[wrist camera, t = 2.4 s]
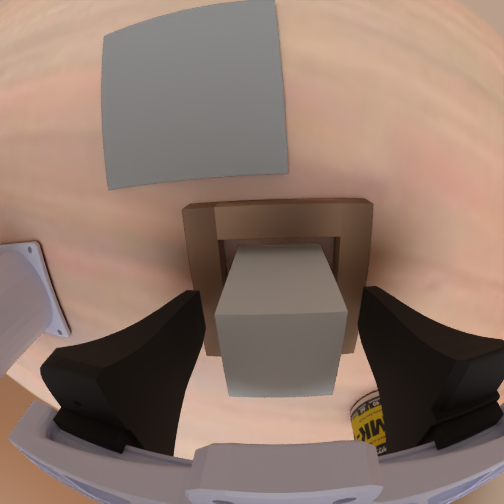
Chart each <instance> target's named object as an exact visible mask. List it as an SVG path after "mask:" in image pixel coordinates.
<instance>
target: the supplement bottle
mask: <svg viewBox="0 0 504 504" xmlns="http://www.w3.org/2000/svg"><path fill="white" fill-rule="evenodd" d="M350 417H351V423H352V429H353V435H354V440H361V441H363V442H366V443H368V444H371V445H374V446H376V450H377V455H378V456H382V455H386V438H385V428H384V420H383V413H382V407H381V402H380V397H379V392H378V391H377V392H374V393H372V394H369V395H367V396H366V397H364V398H362V399H361V400H360V401H359V402H358V403H357V404H356V405H355V406H354V407H353V408H352V410H351V413H350Z"/></svg>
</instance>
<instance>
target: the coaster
mask: <svg viewBox="0 0 504 504" xmlns="http://www.w3.org/2000/svg"><path fill="white" fill-rule="evenodd" d="M101 108H102V132H103V146H104V158H105V167H106V176H107V184H108V190H114V189H120V188H127V187H134V186H141V185H148V184H156V183H164V182H172V181H182V180H192V179H202V178H214V177H227V176H243V175H263V174H288V158H287V138H286V120H285V105H284V91H283V78H282V66H281V55H280V45H279V35H278V26H277V17H276V8H275V0H247V1H236V2H228V3H220V4H214V5H208V6H202V7H197V8H192V9H187V10H183V11H178V12H174V13H170V14H166V15H163V16H159V17H156V18H152V19H149V20H146V21H143V22H140V23H137V24H134V25H131V26H128V27H125V28H123V29H120V30H118V31H115V32H113V33H110V34H108V35H105V36H104V41H103V54H102V77H101Z"/></svg>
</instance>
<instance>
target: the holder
mask: <svg viewBox="0 0 504 504" xmlns="http://www.w3.org/2000/svg"><path fill="white" fill-rule="evenodd" d="M182 215H183V222H184V230H185V237H186V244H187V251H188V258H189V264H190V270H191V276H192V282H193V288H194V291H200V296H201V302H202V308H203V313H204V319H205V324H206V331H205V336H204V340H203V341H204V345H205V350H206V355H207V356H221V350H220V345H219V339H218V333H217V327H216V320H215V311H216V309H217V306H218V303H219V300H220V297H221V294H222V291H223V289H224V286H225V283H226V280H227V273H226V264H225V254H224V244H223V240H231V239H262V238H298V237H335V240H334V260H333V276H334V278H335V281H336V283H337V285H338V288H339V290H340V293H341V295H342V298H343V300H344V303H345V305H346V308H347V310H348V314H347V321H346V327H345V333H344V339H343V345H342V351H341V354H348V353H354V350H355V345H356V340H357V335H358V326H357V324H358V318H359V312H360V306H361V299H362V293H363V287H366V280H367V273H368V264H369V255H370V245H371V233H372V218H373V203H371V202H370V201H368V200H366V199H346V198H325V199H273V200H248V201H228V202H212V203H197V204H189V205H188V206H186V207H185V208H183V209H182Z"/></svg>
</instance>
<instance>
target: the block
mask: <svg viewBox="0 0 504 504" xmlns="http://www.w3.org/2000/svg"><path fill="white" fill-rule="evenodd" d="M347 314H348V310H347V308H346V305H345V303H344V300H343V298H342V295H341V293H340V290H339V288H338V285H337V283H336V281H335V278H334V276H333V273H332V271H331V269H330V266H329V264H328V262H327V259H326V257H325V255H324V252H323V250H322V248H321V246H320V243H316V244H278V245H243V246H238V249H237V252H236V255H235V257H234V260H233V263H232V266H231V269H230V272H229V274H228V277H227V280H226V283H225V286H224V289H223V291H222V294H221V297H220V300H219V303H218V306H217V309H216V311H215V320H216V327H217V333H218V339H219V345H220V350H221V356H222V362H223V367H224V373H225V378H226V383H227V388H228V393H229V396H233V397H305V396H322V395H332V394H333V390H334V385H335V381H336V376H337V371H338V366H339V361H340V356H341V351H342V345H343V339H344V333H345V327H346V321H347Z"/></svg>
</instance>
